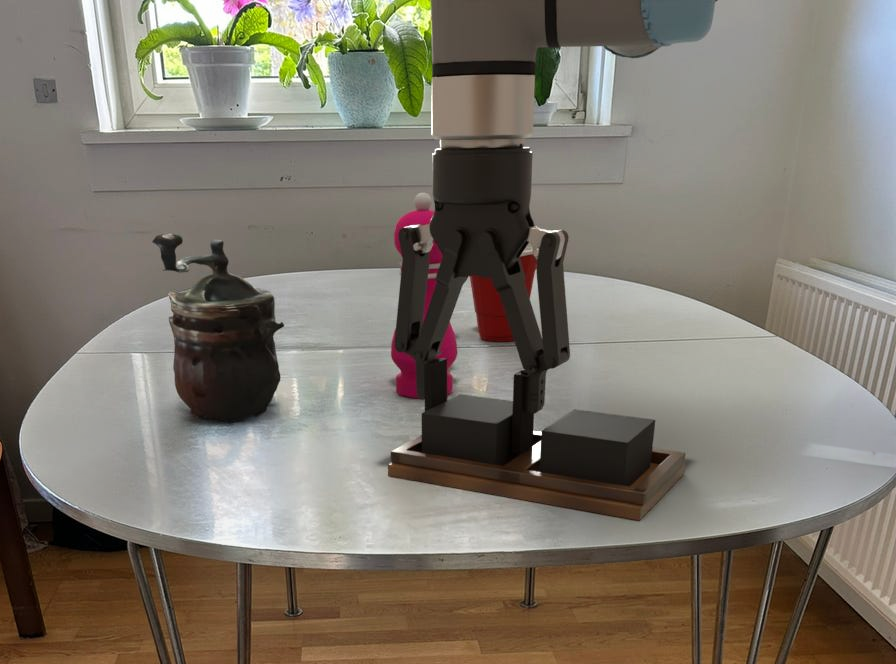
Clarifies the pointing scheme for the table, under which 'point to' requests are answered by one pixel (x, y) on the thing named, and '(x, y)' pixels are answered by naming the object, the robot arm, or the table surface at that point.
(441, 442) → the dark grey square block
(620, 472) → the black square block
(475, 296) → the plastic cup
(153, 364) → the table surface
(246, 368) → the coffee grinder
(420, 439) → the divided wooden tray
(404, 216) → the pepper mill
